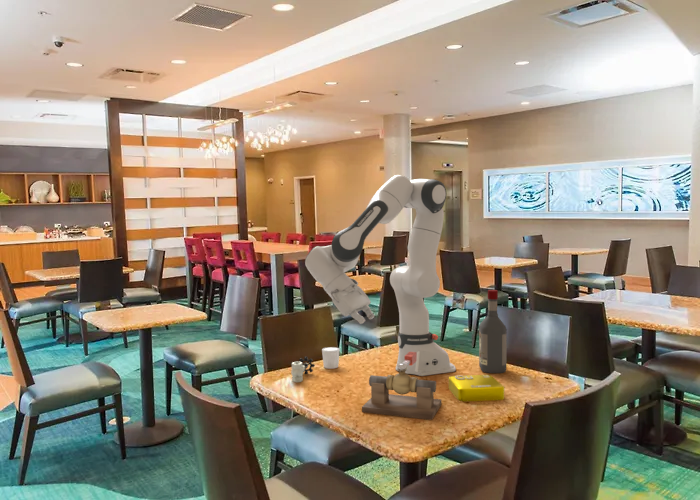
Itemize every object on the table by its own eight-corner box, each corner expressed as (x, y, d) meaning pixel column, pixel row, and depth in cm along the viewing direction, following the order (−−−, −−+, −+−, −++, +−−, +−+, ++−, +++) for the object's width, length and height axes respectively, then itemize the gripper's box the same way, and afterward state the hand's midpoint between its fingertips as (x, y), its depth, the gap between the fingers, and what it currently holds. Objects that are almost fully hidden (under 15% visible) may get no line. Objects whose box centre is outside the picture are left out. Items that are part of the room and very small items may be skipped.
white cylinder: (326, 369, 211) (326, 351, 210) (319, 365, 217) (319, 348, 216) (342, 367, 214) (342, 349, 213) (335, 363, 220) (334, 346, 220)
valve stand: (376, 397, 177) (375, 362, 177) (441, 404, 170) (441, 367, 169) (361, 411, 164) (361, 374, 164) (431, 419, 157) (431, 380, 156)
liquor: (502, 366, 212) (502, 288, 210) (507, 373, 202) (507, 292, 201) (478, 366, 212) (478, 289, 211) (482, 373, 203) (482, 292, 202)
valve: (304, 383, 194) (315, 374, 206) (303, 364, 194) (314, 356, 205) (286, 382, 196) (298, 373, 207) (286, 363, 195) (297, 355, 207)
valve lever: (408, 360, 180) (408, 351, 179) (417, 360, 179) (417, 352, 178) (395, 372, 166) (395, 363, 165) (405, 373, 164) (405, 363, 164)
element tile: (459, 403, 172) (459, 387, 172) (447, 388, 187) (447, 374, 187) (506, 401, 173) (506, 386, 173) (490, 386, 188) (490, 372, 188)
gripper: (335, 285, 172) (364, 318, 170) (357, 279, 192) (383, 309, 189) (322, 298, 174) (350, 331, 171) (345, 291, 193) (371, 321, 190)
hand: (368, 320), depth 180 cm, fingers open, 8 cm apart
